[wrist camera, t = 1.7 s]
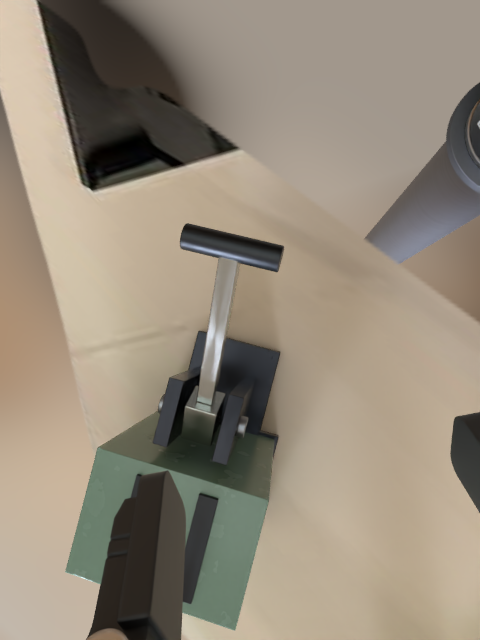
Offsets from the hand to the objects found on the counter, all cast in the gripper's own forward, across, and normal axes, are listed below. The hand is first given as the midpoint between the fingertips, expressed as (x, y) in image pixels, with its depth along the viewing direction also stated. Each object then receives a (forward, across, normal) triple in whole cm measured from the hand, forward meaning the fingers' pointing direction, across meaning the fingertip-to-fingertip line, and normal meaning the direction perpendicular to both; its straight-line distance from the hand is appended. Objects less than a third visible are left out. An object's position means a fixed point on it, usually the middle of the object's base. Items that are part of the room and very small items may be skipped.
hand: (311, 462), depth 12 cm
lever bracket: (+23, +5, +17) cm, 29 cm away
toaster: (+19, +8, +22) cm, 30 cm away
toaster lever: (+14, +3, +5) cm, 16 cm away
